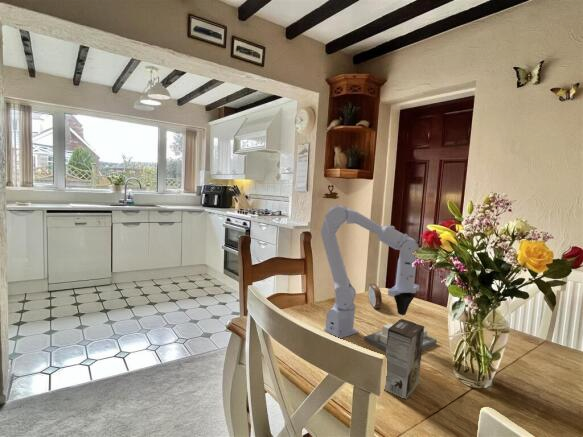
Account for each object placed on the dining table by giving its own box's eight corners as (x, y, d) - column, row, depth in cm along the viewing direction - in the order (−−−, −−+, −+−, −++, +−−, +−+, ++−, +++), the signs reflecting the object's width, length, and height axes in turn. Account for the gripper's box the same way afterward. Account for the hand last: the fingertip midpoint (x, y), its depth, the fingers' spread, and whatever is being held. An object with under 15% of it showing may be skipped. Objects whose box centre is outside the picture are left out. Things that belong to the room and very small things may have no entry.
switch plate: (400, 360, 98) (402, 348, 98) (364, 340, 109) (365, 330, 109) (436, 344, 111) (437, 334, 110) (400, 328, 122) (401, 318, 121)
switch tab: (391, 346, 103) (393, 331, 102) (379, 340, 107) (381, 325, 106) (401, 343, 106) (402, 328, 106) (389, 337, 110) (390, 322, 109)
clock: (381, 311, 137) (383, 291, 136) (373, 311, 137) (375, 291, 137) (373, 299, 152) (375, 281, 151) (366, 298, 152) (368, 280, 151)
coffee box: (395, 374, 90) (401, 317, 89) (418, 384, 86) (425, 325, 85) (381, 389, 83) (387, 327, 82) (406, 401, 79) (413, 336, 78)
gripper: (403, 280, 101) (398, 322, 103) (429, 275, 110) (424, 314, 111) (384, 274, 107) (380, 314, 108) (410, 269, 116) (406, 307, 117)
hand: (401, 314), depth 110 cm, fingers closed
